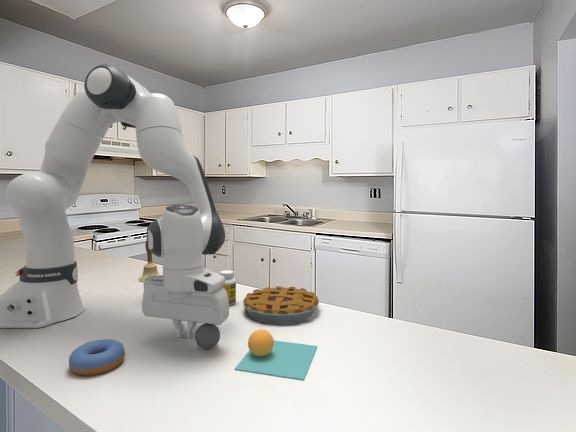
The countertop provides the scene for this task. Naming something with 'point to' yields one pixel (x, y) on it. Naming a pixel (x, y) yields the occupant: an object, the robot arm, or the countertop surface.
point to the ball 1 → (207, 336)
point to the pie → (281, 304)
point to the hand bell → (149, 267)
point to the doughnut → (96, 357)
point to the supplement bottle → (229, 286)
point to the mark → (280, 361)
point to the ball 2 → (260, 343)
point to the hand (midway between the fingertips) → (185, 337)
